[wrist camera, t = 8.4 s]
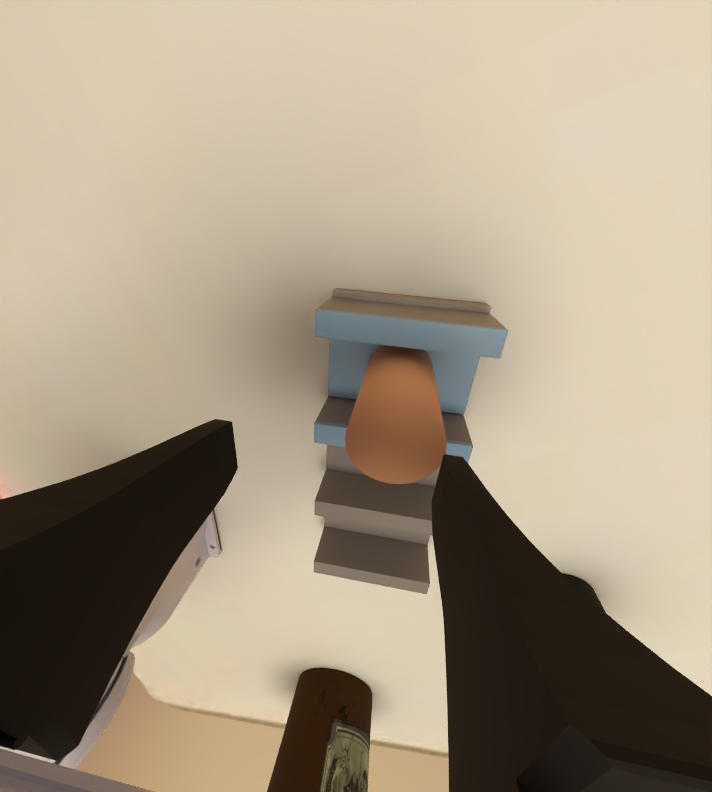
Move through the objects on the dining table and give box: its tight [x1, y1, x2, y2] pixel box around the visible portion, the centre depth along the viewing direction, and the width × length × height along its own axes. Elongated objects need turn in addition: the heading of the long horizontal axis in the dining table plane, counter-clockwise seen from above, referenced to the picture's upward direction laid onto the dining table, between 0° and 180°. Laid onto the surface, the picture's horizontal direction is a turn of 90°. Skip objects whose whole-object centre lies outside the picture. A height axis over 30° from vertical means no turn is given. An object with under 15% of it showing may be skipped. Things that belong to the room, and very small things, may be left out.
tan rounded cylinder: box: [345, 345, 447, 484], centre depth 14 cm, size 4×4×7 cm
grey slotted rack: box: [314, 289, 508, 594], centre depth 19 cm, size 19×8×4 cm, turn 176°
